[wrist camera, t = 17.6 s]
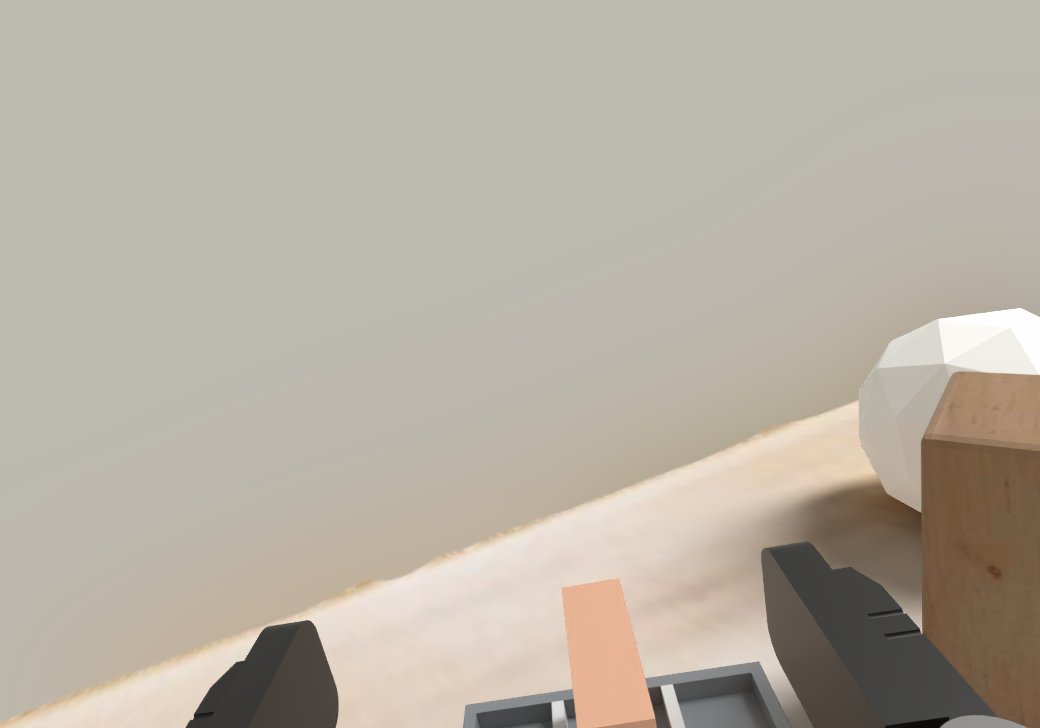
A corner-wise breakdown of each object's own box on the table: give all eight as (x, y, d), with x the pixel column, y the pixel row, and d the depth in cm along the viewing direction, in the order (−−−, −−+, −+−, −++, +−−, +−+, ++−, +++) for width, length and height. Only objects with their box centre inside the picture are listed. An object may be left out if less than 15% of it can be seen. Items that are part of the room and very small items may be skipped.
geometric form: (1055, 551, 58) (866, 377, 67) (1300, 438, 44) (1017, 240, 53) (982, 656, 48) (772, 434, 57) (1270, 553, 34) (928, 283, 43)
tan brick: (684, 892, 30) (655, 718, 27) (613, 902, 30) (577, 730, 27) (643, 721, 40) (619, 578, 36) (590, 729, 40) (561, 587, 37)
